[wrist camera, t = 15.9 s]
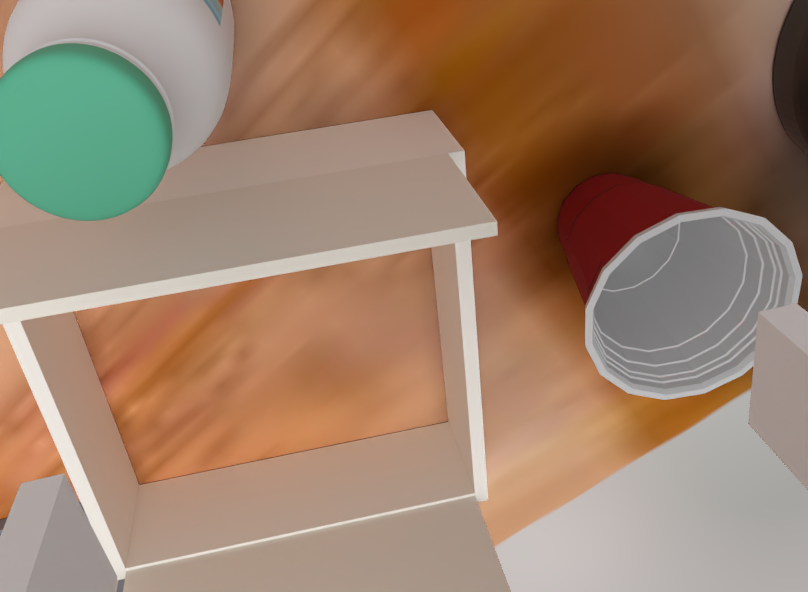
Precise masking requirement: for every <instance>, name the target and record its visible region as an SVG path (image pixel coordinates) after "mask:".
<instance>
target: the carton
mask: <svg viewBox="0 0 808 592" xmlns="http://www.w3.org/2000/svg"><path fill="white" fill-rule="evenodd" d="M497 235H498V230H497V220H496V219H495V218H494V216H493V215H492V213H491V212H490V211H489V209H488V208H487V207H486V205H485V204H484V202H483V201H482V200H481V198H480V197H479V195H478V194H477V193H476V191H475V190H474V189H473V187H472V186H471V184H470V183H469V182H468V180H467V179H466V166H465V151H464V149H463V148H462V147H461V145H460V144H459V143H458V142H457V140H456V139H455V138H454V137H453V135H452V134H451V133H450V132H449V130H448V129H447V128H446V127H445V125H444V124H443V123H442V121H441V120H440V119H439V118H438V116H437V115H436V114H435V113H434V111H433V110H429V111H423V112H417V113H410V114H404V115H398V116H392V117H385V118H379V119H373V120H366V121H360V122H354V123H348V124H341V125H335V126H329V127H323V128H316V129H310V130H304V131H298V132H291V133H285V134H279V135H272V136H266V137H260V138H254V139H247V140H241V141H235V142H229V143H222V144H216V145H210V146H204V147H200V148H199V149H198V150H197V151H195V152H194V153H193V154H192V155H191V156H189V157H188V158H187V159H185V160H184V161H182V162H181V163H179V164H177V165H175V166H174V167H172V168H169V169H167V170H166V172H165V174H164V176H163V178H162V180H161V182H160V184H159V185H158V187H157V188H156V190H155V191H154V192H153V193H152V194H151V195H150V196H149V198H147V199H146V200H145V201H144V202H143V203H141V204H140V205H139V206H137V207H136V208H134V209H132V210H130V211H128V212H126V213H124V214H122V215H119V216H116V217H113V218H109V219H105V220H97V221H79V220H71V219H66V218H62V217H58V216H55V215H52V214H50V213H47V212H45V211H43V210H41V209H39V208H37V207H35V206H33V205H32V204H30V203H28V202H27V201H26V200H24V199H23V198H22V197H20V196H19V195H18V194H17V193H16V192H15V191H14V190H13V189H12V188H11V187H10V186H9V185H8V184H7V183H6V182H5V181H3V182H2V183H1V185H0V324H3V326H4V329H5V331H6V333H7V336H8V338H9V340H10V342H11V345H12V347H13V349H14V351H15V354H16V356H17V358H18V361H19V363H20V365H21V367H22V370H23V372H24V374H25V376H26V379H27V381H28V383H29V386H30V388H31V390H32V392H33V395H34V397H35V399H36V401H37V404H38V406H39V408H40V411H41V413H42V415H43V417H44V420H45V422H46V424H47V426H48V429H49V431H50V433H51V436H52V438H53V440H54V442H55V445H56V447H57V449H58V451H59V454H60V456H61V458H62V461H63V463H64V465H65V467H66V470H67V472H68V474H69V476H70V479H71V481H72V483H73V486H74V488H75V490H76V492H77V495H78V497H79V499H80V501H81V504H82V506H83V508H84V511H85V513H86V515H87V517H88V520H89V522H90V524H91V526H92V528H93V530H94V532H95V534H96V536H97V538H98V540H99V542H100V544H101V546H102V548H103V550H104V552H105V554H106V555H107V557H108V559H109V561H110V563H111V565H112V567H113V569H114V571H115V573H116V575H117V580H121V579H125V582H124V588H123V592H511V591H510V588H509V586H508V583H507V580H506V577H505V575H504V572H503V570H502V567H501V564H500V561H499V559H498V556H497V553H496V551H495V548H494V545H493V543H492V540H491V537H490V534H489V532H488V529H487V526H486V524H485V521H484V518H483V516H482V513H481V510H480V508H479V505H478V502H480V501H485V500H488V491H487V476H486V461H485V447H484V432H483V417H482V402H481V387H480V373H479V358H478V343H477V328H476V313H475V299H474V284H473V269H472V254H471V240H475V239H480V238H486V237H492V236H497ZM430 247H431V250H432V260H433V270H434V281H435V291H436V301H437V312H438V322H439V332H440V342H441V353H442V363H443V373H444V384H445V394H446V404H447V415H448V422H445V423H440V424H435V425H430V426H425V427H421V428H416V429H411V430H406V431H401V432H396V433H391V434H386V435H381V436H377V437H372V438H367V439H362V440H357V441H352V442H347V443H342V444H337V445H333V446H328V447H323V448H318V449H313V450H308V451H303V452H298V453H294V454H289V455H284V456H279V457H274V458H269V459H264V460H259V461H254V462H250V463H245V464H240V465H235V466H230V467H225V468H220V469H215V470H210V471H206V472H201V473H196V474H191V475H186V476H181V477H176V478H171V479H166V480H162V481H157V482H152V483H147V484H142V485H139V483H138V480H137V478H136V475H135V473H134V470H133V467H132V465H131V462H130V459H129V457H128V454H127V452H126V449H125V446H124V444H123V441H122V438H121V436H120V433H119V431H118V428H117V425H116V423H115V420H114V417H113V415H112V412H111V410H110V407H109V404H108V402H107V399H106V396H105V394H104V391H103V389H102V386H101V383H100V381H99V378H98V375H97V373H96V370H95V367H94V365H93V362H92V360H91V357H90V354H89V352H88V349H87V346H86V344H85V341H84V339H83V336H82V333H81V331H80V328H79V325H78V323H77V320H76V318H75V315H74V312H73V311H79V310H84V309H90V308H95V307H101V306H106V305H112V304H118V303H123V302H129V301H134V300H140V299H146V298H151V297H157V296H162V295H168V294H173V293H179V292H185V291H190V290H196V289H201V288H207V287H213V286H218V285H224V284H229V283H235V282H240V281H246V280H252V279H257V278H263V277H268V276H274V275H280V274H285V273H291V272H296V271H302V270H307V269H313V268H319V267H324V266H330V265H335V264H341V263H346V262H352V261H358V260H363V259H369V258H374V257H380V256H386V255H391V254H397V253H402V252H408V251H413V250H419V249H425V248H430Z"/></svg>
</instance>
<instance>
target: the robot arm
mask: <svg viewBox="0 0 808 592" xmlns="http://www.w3.org/2000/svg"><path fill="white" fill-rule="evenodd" d="M774 95H775V102H776V107H777V111H778V114H779V117H780V120H781V122H782V124H783V126H784V128H785V130H786V132H787V133H788V135H789V136H790V138H791V139H792V140H793V142H794V143H795V144H796V145H797V146H798V147H799V148H801V149H802V150H803V151H804V152H806V153H807V154H808V0H795V2H794V4H793V6H792V8H791V10H790V13H789V15H788V17H787V19H786V22H785V25H784V27H783V30H782V33H781V37H780V40H779V44H778V48H777V53H776V58H775V66H774ZM748 424H749V425H750V426H751V427H752V428H753V429H754V431H755V432H756V433H757V434H758V435H759V436H760V437H761V438H762V440H763V441H764V442H765V443H766V444H767V445H768V446H769V447H770V448H771V449H772V451H773V452H774V453H775V454H776V455H777V456H778V457H779V459H781V461H782V462H783V463H784V464H785V465H786V466H787V467H788V469H789V470H790V471H791V472H792V473H793V474H794V475H795V476H796V477H797V479H798V480H799V481H800V482H801V483H802V484H803V485H804V486H805V488H806V489H807V490H808V312H807V311H805V310H804V309H803V308H802V307H800V306H799V305H798V304H797V303H795V304H791V305H786V306H782V307H778V308H773V309H769V310H765V311H761V312H758V321H757V332H756V344H755V355H754V366H753V377H752V389H751V400H750V411H749V423H748ZM116 582H117V575H116V573H115V571H114V569H113V567H112V565H111V563H110V561H109V559H108V557H107V555H106V554H105V552H104V550H103V548H102V546H101V544H100V542H99V540H98V538H97V536H96V534H95V532H94V530H93V528H92V526H91V524H90V523H89V521H88V519H87V517H86V515H85V513H84V511H83V509H82V507H81V505H80V503H79V501H78V499H77V497H76V495H75V493H74V492H73V490H72V488H71V486H70V484H69V482H68V480H67V478H66V476H65V474H60V475H55V476H51V477H47V478H42V479H38V480H34V481H30V482H25V483H21V485H20V487H19V490H18V492H17V495H16V497H15V500H14V503H13V505H12V508H11V510H10V513H9V515H8V518H7V520H6V523H5V525H4V528H3V531H2V533H1V536H0V592H115V587H116Z"/></svg>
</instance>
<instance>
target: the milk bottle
mask: <svg viewBox="0 0 808 592" xmlns="http://www.w3.org/2000/svg"><path fill="white" fill-rule="evenodd" d="M233 52H234V17H233V11H232V5H231V2H230V0H19V1H18V3H17V5H16V6H15V8H14V10H13V12H12V14H11V16H10V19H9V22H8V25H7V28H6V32H5V37H4V44H3V73H4V75H3V76H2V77H1V78H0V175H1V177H2V178H3V179H4V181H5V182H6V183H7V184H8V185H9V186H10V187H11V188H12V189H13V190H14V191H15V192H16V193H17V194H18V195H19V196H20V197H22V198H23V199H24V200H26V201H27V202H28V203H30V204H32V205H33V206H35V207H37V208H39V209H41V210H43V211H45V212H47V213H50V214H52V215H55V216H58V217H62V218H66V219H71V220H79V221H97V220H105V219H109V218H113V217H116V216H119V215H122V214H124V213H126V212H128V211H130V210H132V209H134V208H136V207H137V206H139V205H140V204H141V203H143V202H144V201H145V200H146V199H147V198H149V196H150V195H151V194H152V193H153V192H154V191H155V190H156V188H157V187H158V185H159V184H160V182H161V180H162V178H163V176H164V174H165V172H166V170H167V169H169V168H172V167H174V166H175V165H177V164H179V163H181V162H182V161H184V160H185V159H187V158H188V157H189V156H191V155H192V154H193V153H194V152H195V151H197V150H198V149H199V148H200V147H201V146H202V145H203V144H204V142H205V141H206V140H207V139H208V137H209V136H210V135H211V133H212V132H213V130H214V128H215V127H216V125H217V123H218V122H219V120H220V118H221V115H222V113H223V111H224V108H225V105H226V101H227V97H228V92H229V88H230V84H231V76H232V66H233Z"/></svg>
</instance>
